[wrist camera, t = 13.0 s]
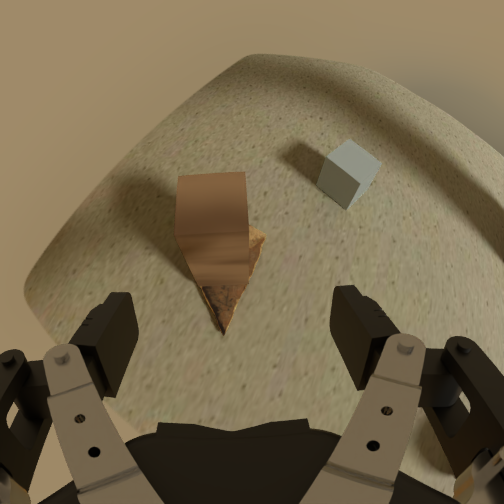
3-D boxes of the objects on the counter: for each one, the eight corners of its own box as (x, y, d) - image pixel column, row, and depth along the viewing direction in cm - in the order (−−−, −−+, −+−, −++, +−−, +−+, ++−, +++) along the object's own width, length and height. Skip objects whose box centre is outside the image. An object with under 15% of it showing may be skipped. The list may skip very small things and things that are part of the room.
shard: (224, 338, 27) (223, 335, 25) (152, 304, 28) (147, 299, 26) (268, 239, 31) (270, 231, 29) (202, 214, 32) (200, 205, 30)
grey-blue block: (338, 166, 35) (349, 138, 30) (366, 190, 34) (382, 163, 29) (315, 185, 33) (325, 156, 29) (346, 210, 32) (360, 183, 28)
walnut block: (198, 241, 29) (178, 176, 20) (245, 238, 29) (245, 171, 20) (198, 286, 27) (173, 235, 18) (248, 284, 27) (249, 231, 18)
